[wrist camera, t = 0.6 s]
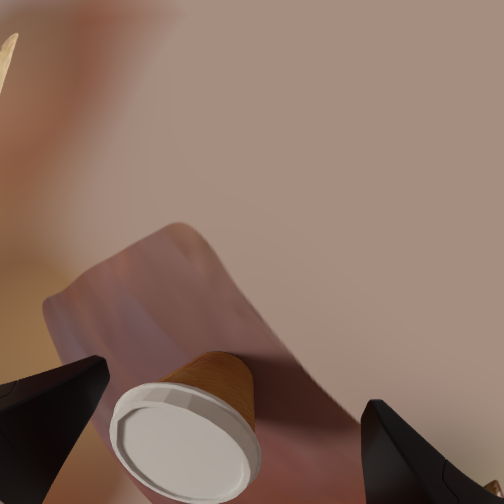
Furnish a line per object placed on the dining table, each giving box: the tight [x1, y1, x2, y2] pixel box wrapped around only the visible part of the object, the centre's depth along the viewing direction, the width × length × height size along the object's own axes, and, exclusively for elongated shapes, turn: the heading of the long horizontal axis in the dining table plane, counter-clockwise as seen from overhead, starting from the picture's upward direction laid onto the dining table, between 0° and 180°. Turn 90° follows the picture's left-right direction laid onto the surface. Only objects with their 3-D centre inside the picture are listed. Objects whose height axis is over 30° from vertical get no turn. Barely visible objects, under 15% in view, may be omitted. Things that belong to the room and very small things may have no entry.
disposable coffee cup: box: [110, 352, 262, 504], centre depth 17 cm, size 10×10×12 cm
